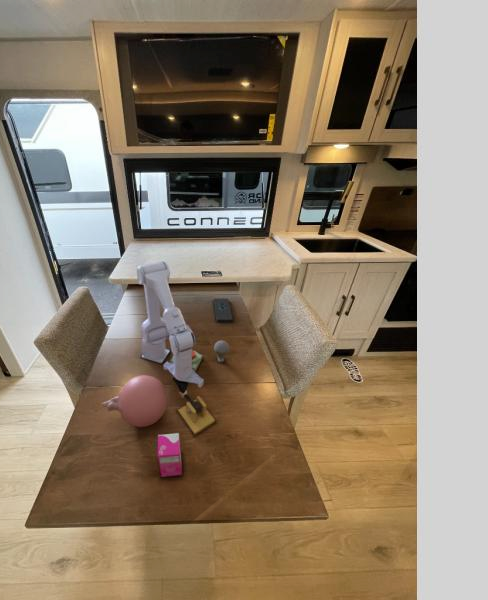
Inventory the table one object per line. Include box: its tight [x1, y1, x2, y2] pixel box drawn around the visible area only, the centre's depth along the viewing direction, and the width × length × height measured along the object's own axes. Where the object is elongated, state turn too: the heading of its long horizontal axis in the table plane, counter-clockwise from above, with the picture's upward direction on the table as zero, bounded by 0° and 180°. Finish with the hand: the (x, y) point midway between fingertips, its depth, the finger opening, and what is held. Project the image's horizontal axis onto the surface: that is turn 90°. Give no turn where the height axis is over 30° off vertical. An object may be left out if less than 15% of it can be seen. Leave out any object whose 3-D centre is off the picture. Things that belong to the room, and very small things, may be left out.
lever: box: [178, 389, 202, 414], centre depth 88 cm, size 11×3×3 cm, turn 34°
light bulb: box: [213, 340, 230, 363], centre depth 107 cm, size 6×6×10 cm
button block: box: [169, 349, 203, 373], centre depth 108 cm, size 11×8×4 cm
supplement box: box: [157, 432, 183, 478], centre depth 72 cm, size 6×6×12 cm
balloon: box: [101, 374, 168, 428], centre depth 84 cm, size 15×20×15 cm
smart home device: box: [213, 298, 234, 323], centre depth 140 cm, size 8×2×20 cm
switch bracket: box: [177, 395, 216, 436], centre depth 86 cm, size 10×8×7 cm
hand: (183, 390), depth 91 cm, fingers closed, pressing on lever
